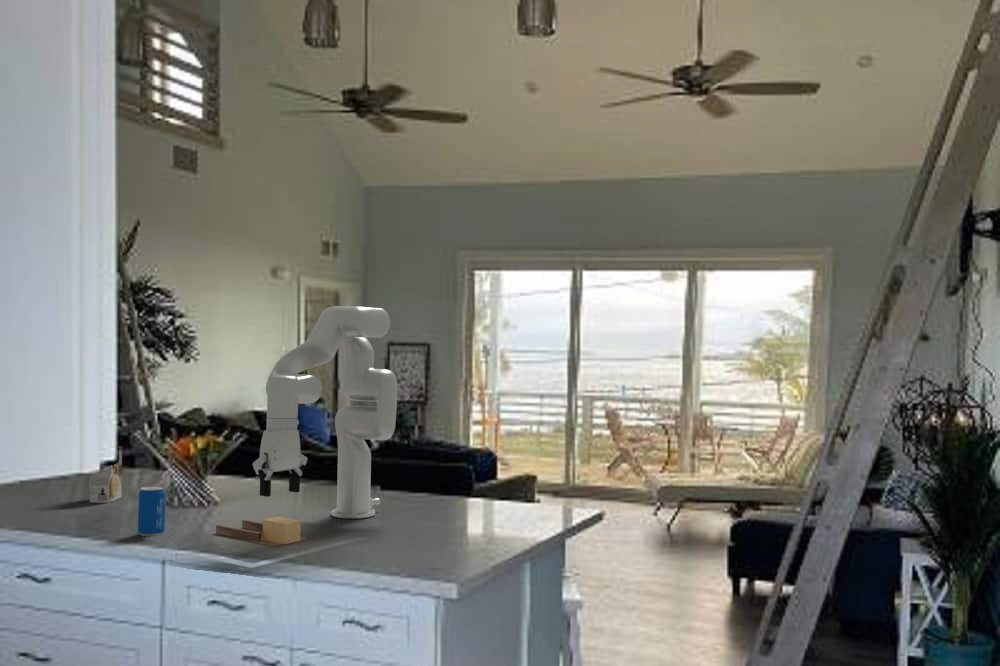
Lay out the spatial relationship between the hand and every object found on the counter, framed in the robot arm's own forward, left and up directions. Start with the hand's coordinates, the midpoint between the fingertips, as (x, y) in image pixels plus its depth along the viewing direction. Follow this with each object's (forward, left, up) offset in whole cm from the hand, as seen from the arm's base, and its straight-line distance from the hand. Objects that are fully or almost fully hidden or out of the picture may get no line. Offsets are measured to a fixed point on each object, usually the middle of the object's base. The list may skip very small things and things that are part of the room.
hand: (279, 493), depth 235 cm
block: (0, +1, -12) cm, 12 cm away
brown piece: (-1, -8, -13) cm, 15 cm away
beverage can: (+12, -33, -13) cm, 38 cm away
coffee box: (-10, -85, -13) cm, 87 cm away
